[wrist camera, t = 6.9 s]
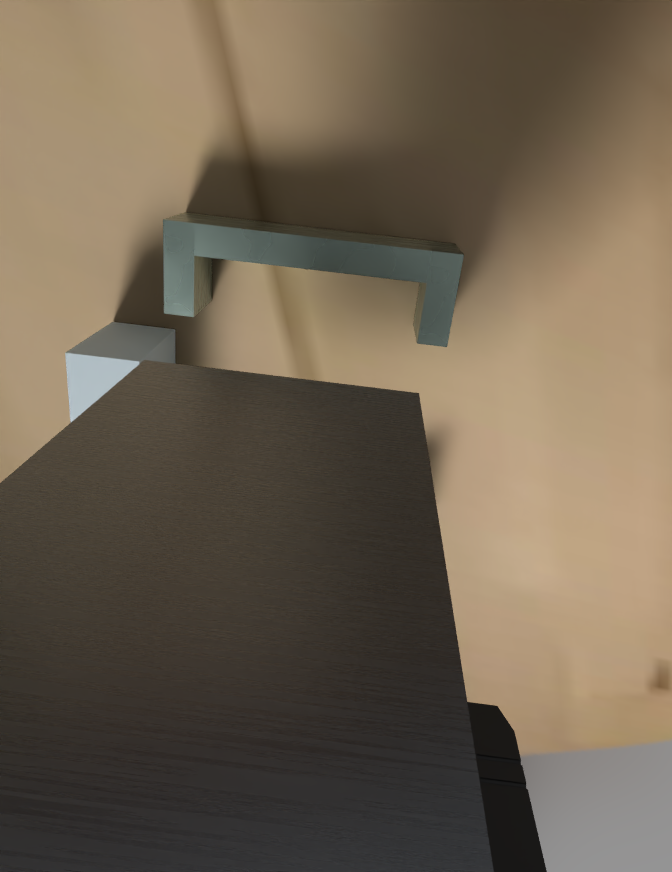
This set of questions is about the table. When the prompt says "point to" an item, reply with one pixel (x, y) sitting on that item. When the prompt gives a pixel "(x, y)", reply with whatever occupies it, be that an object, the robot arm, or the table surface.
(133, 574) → the grey box with knob
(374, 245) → the socket
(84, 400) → the light grey rectangular block
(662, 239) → the table surface
